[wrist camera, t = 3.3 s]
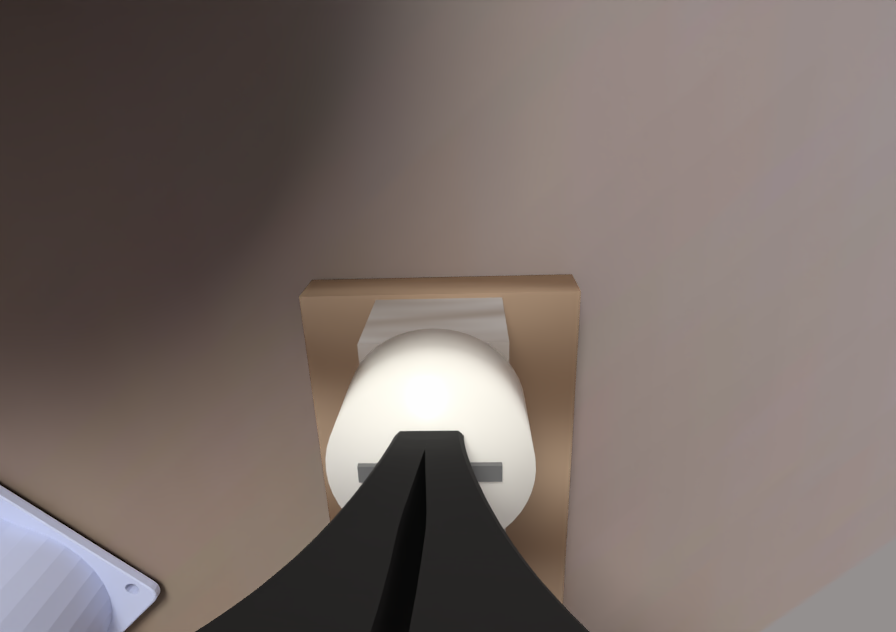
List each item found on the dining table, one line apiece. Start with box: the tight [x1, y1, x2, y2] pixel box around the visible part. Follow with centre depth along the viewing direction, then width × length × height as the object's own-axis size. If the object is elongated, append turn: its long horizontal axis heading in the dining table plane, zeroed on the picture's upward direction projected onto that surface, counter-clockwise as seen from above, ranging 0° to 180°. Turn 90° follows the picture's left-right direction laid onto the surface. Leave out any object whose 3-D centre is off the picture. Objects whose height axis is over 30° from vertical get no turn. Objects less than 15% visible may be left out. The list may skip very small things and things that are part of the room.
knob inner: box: [325, 328, 536, 529], centre depth 15 cm, size 4×4×6 cm
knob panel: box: [299, 274, 581, 604], centre depth 19 cm, size 17×8×4 cm, turn 2°
